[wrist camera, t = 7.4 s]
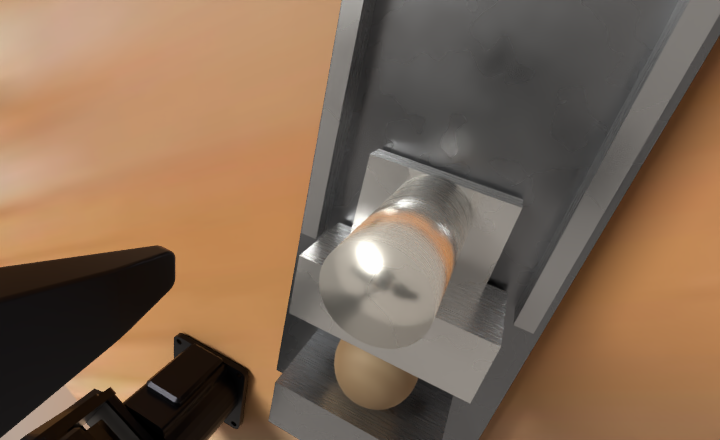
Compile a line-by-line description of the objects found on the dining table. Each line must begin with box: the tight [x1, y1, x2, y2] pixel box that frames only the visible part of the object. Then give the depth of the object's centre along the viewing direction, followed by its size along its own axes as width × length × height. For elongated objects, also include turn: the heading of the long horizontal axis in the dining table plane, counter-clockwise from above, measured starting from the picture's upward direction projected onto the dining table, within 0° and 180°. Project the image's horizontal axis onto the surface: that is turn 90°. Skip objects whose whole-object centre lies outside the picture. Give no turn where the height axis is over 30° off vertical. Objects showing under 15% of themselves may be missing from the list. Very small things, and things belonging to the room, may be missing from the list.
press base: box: [269, 0, 720, 440], centre depth 16 cm, size 24×12×6 cm, turn 166°
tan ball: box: [334, 339, 418, 410], centre depth 18 cm, size 4×4×4 cm
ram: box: [289, 149, 523, 403], centre depth 14 cm, size 7×8×7 cm
